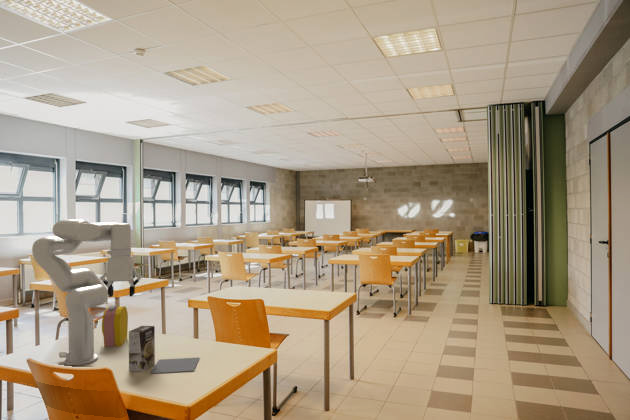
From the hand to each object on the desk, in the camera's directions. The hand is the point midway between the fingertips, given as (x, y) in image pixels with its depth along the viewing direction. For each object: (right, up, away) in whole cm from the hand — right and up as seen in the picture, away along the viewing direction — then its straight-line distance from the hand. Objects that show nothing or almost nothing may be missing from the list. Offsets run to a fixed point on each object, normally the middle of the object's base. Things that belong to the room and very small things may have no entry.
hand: (121, 295), depth 172 cm
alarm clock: (-19, -30, +34) cm, 49 cm away
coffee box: (+8, -30, +1) cm, 31 cm away
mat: (+22, -30, +2) cm, 37 cm away
